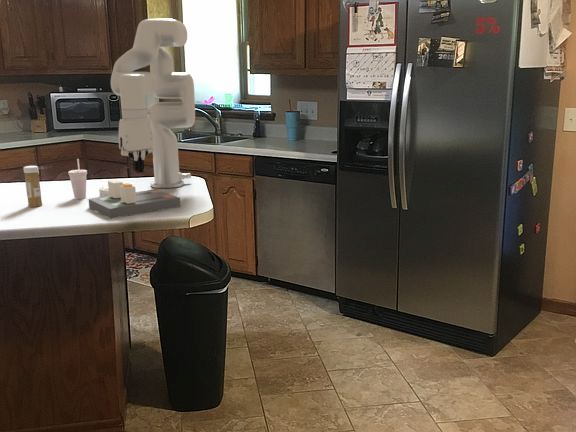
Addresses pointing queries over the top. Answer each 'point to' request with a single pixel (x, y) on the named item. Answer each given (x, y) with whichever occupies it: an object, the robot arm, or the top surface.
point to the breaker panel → (134, 204)
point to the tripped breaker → (128, 193)
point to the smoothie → (78, 182)
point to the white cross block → (104, 191)
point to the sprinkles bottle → (32, 186)
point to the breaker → (114, 188)
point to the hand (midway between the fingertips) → (139, 171)
